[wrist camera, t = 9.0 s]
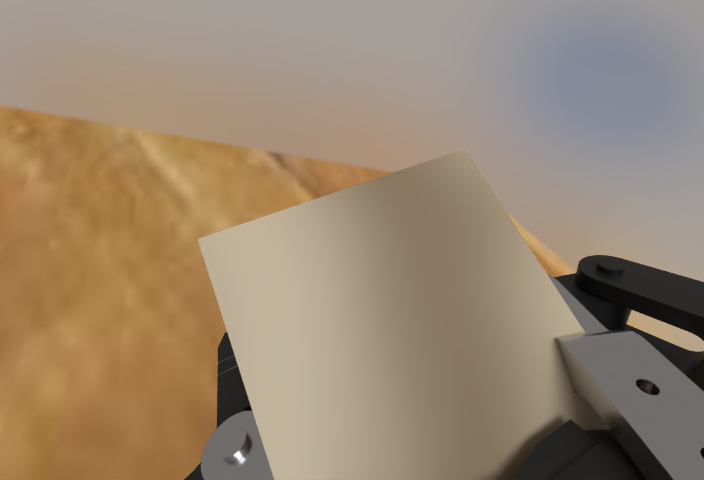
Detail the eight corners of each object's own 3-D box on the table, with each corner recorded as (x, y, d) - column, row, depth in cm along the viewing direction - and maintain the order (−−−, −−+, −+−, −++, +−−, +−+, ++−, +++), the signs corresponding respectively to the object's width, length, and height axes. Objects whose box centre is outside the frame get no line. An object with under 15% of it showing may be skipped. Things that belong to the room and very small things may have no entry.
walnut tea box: (316, 429, 12) (331, 661, 3) (270, 304, 14) (197, 239, 5) (427, 366, 14) (637, 412, 5) (375, 259, 15) (464, 148, 6)
